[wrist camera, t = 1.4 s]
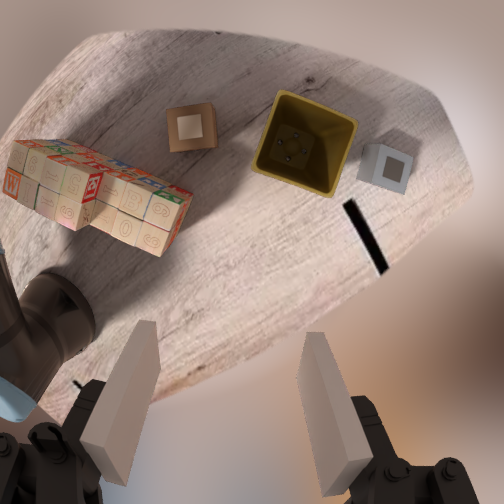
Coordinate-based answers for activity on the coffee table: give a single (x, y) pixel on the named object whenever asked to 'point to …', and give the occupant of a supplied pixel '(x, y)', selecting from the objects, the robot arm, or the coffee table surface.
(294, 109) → the flower pot
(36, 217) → the coffee table surface
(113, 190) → the stack of blocks
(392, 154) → the grey cube marked
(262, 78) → the coffee table surface
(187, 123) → the walnut cube marked
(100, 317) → the coffee table surface
